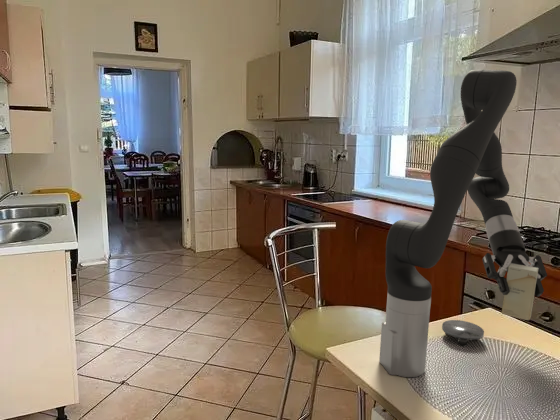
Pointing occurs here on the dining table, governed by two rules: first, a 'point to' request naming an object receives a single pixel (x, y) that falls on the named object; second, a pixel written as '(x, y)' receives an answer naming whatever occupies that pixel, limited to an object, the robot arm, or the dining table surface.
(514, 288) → the skincare box
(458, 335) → the dark gray bowl
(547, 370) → the dining table surface
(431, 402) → the dining table surface
